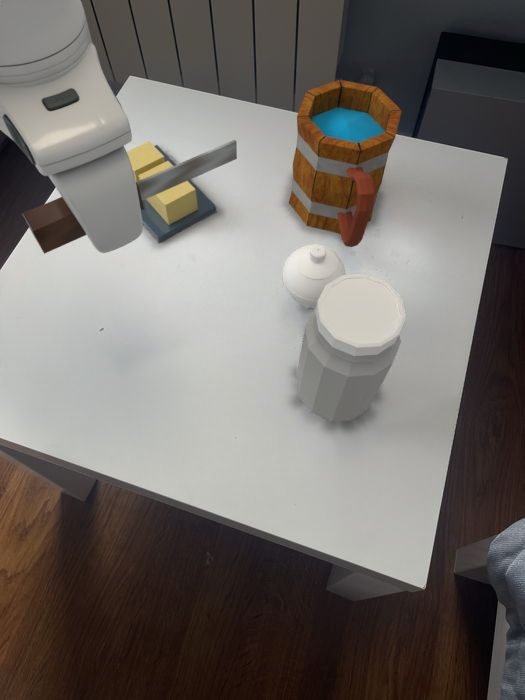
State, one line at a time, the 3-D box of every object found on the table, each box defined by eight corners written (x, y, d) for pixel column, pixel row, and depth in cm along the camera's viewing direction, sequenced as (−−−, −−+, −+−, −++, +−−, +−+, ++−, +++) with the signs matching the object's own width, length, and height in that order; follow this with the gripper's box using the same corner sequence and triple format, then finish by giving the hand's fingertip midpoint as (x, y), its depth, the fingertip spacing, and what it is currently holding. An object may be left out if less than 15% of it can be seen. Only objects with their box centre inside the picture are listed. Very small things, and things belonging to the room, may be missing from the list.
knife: (44, 254, 48) (32, 231, 45) (34, 236, 49) (21, 213, 46) (242, 165, 54) (242, 140, 51) (229, 150, 55) (228, 126, 52)
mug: (282, 170, 84) (289, 82, 71) (367, 164, 85) (389, 76, 72) (302, 271, 74) (314, 192, 61) (397, 263, 75) (428, 183, 62)
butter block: (169, 225, 76) (165, 205, 73) (142, 195, 79) (138, 175, 75) (198, 209, 78) (195, 189, 74) (171, 181, 80) (168, 160, 77)
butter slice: (139, 191, 79) (134, 171, 76) (125, 176, 81) (119, 154, 77) (167, 177, 81) (164, 156, 77) (153, 162, 82) (149, 140, 79)
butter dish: (159, 243, 76) (157, 237, 75) (102, 177, 82) (100, 171, 81) (216, 211, 79) (216, 206, 78) (158, 150, 85) (156, 144, 84)
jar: (278, 391, 66) (288, 312, 50) (326, 339, 69) (349, 249, 53) (343, 441, 63) (375, 374, 47) (389, 384, 66) (433, 303, 51)
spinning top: (269, 295, 72) (273, 235, 62) (320, 276, 74) (332, 216, 64) (294, 340, 69) (303, 286, 59) (346, 320, 71) (364, 263, 60)
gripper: (-66, 5, 39) (8, 155, 52) (46, 175, 32) (102, 305, 44) (16, -19, 41) (69, 131, 53) (142, 136, 33) (170, 271, 45)
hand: (84, 211), depth 48 cm, fingers closed on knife, 2 cm apart
